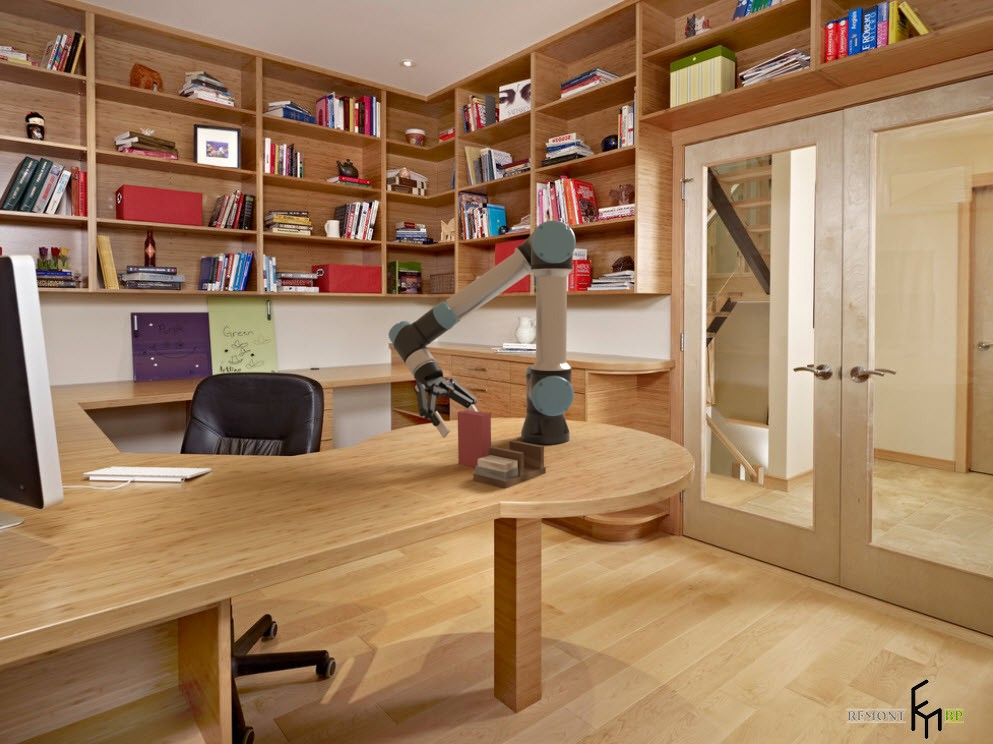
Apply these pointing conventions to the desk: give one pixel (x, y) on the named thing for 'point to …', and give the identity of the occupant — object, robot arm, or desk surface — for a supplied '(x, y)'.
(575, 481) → the desk surface
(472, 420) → the book
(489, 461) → the book stand
